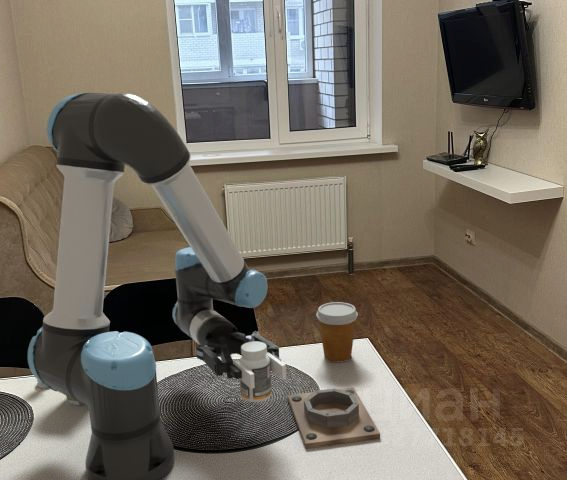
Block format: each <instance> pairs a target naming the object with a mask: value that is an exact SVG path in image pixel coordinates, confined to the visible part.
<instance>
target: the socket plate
mask: <svg viewBox="0 0 567 480" xmlns="http://www.w3.org/2000/svg"><path fill="white" fill-rule="evenodd" d="M287 400H288V403H289V406H290V408H291V411H292V415H293V418H294V419H295V424H296V426H297V428H298V430H299V434H300V437H301V440H302V442H303V445H304V447H305V449H311V448H318V447H327V446H334V445H342V444H349V443H356V442H363V441H370V440H378V439H379V440H380V439H381V432H380V430H379V428H378V427H377V426H376V424H375V421H374V420H373V419H372V417H371V415H370V413H369V411H368V410H367V408H366V406H365V405H364V402H363V401H362V400H361V398H360V396H359V394H358V393H357V390H356V389H355V387H344V388H327V389H326V388H325V389H319V390H314V391H312V392H304V393H303V392H302V393H297V394H288V395H287Z"/></svg>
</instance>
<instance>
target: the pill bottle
mask: <svg viewBox="0 0 567 480" xmlns="http://www.w3.org/2000/svg"><path fill="white" fill-rule="evenodd" d="M266 353H267V346H266V344H265V343H263V342H258V341H253V342H247V343H245V344H243V345H242V346H241V354H242V355H243V356H241V357H239V360H238V361H239V362H241V363H242V364H243V365H244V366H245V367H247V368H248V369H249V370H250V371H252V372H253V373H254V383H255V388H253V389H250V388H249V387H248V386H247V385H246V384H245V383H243V382H242V381H241V380H240V379H239V382H240V384H239V385H240V397H241V399H243V400H244V401H247V402H250V403H261V402H264V401H267V400H268V399H269V398H270V397H271V396H272V377H271V376H272V375H271V374H272V371H271V370H270V359H269V357H268V356H267V355H266Z"/></svg>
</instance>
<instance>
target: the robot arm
mask: <svg viewBox="0 0 567 480" xmlns="http://www.w3.org/2000/svg"><path fill="white" fill-rule="evenodd" d="M46 133H47V140H48V141H49V143H50V144H51V146H52V148H53V150H54V151H56V168H57V169H58V171H60V172H61V174H62V175H63V177H64V180H63V182H64V183H63V192H62V203H61V204H62V205H61V214H60V225H59V226H60V227H59V237H58V247H57V259H56V261H57V262H56V269H55V270H56V272H55V282H54V284H55V285H54V295H53V305H52V310H51V311H50V312H49V313H47V314H46V315H45V316H44V317H43V318H42V319H43V320H42V326H41V327H40V328H39V329H38V330H37V332H36V335H34V336H32V338H31V340H30V342H29V346H28V349H27V364H28V367H29V370H30V371H31V373H32V375H33V377H35V378H36V381H37V380H39V381H40V382H41V383H43V384H44V385H46V386H47V387H48V388H47V389H50V390H51V391H54V392H58V393H60V394H62V395H65V396H66V395H67V396H69V397H71V398H73V399H75V400H77V401H79V402H81V403H83V404H84V406H87V408H88V416H89V420H90V428H91V435H90V439H89V443H88V449H87V453H86V457H85V464H84V465H85V472H86V477H87V480H163V478H165V477H166V476H167V475H168V474H169V473H170V472H171V470H172V469H173V466H174V463H175V451H174V445H173V442H172V440H171V439H170V437H169V434H168V433H167V431H166V428H165V426H164V424H163V423H162V420H161V413H160V402H159V401H160V400H159V392H158V391H159V390H158V389H159V388H158V379H157V378H158V377H157V362H156V360H155V354H154V350H153V347H152V345H151V343H150V342H149V341H148V340H147V339H146V338H144V337H143V336H141V335H139V334H137V333H135V332H130V331H123V332H119V331H117V330H115V331H110V323H111V320H109V318H108V317H107V316H106V315H105V313H104V312H103V311H104V310H103V309H104V298H105V287H106V278H107V267H108V266H107V265H108V255H109V243H110V232H111V223H112V212H113V202H114V191H115V190H114V189H115V183H116V181H117V180H118V179H120V178H121V177H122V176H123V175H124V174H125V167H126V166H128V167H129V168H130V169H132V170H133V172H135V173H136V175H137V176H138V178H139V180H140V181H141V182H142V184H145V185H148V186H149V185H150V186H151V187H152V189H153V190H154V191H155V194H156V195H157V197H158V198H159V199H160V201H161V203H162V204H163V206H164V207H165V209H166V211H167V212H168V214H169V215H170V217H171V219H172V220H173V222H174V223H175V225H176V226H177V228H178V230H179V231H180V232H181V234H182V235H183V237H184V239H185V240H186V242H187V243H188V245H189V246H188V247H185V248H181V249H179V250H177V252H176V253H175V256H174V257H175V259H174V261H175V262H174V264H175V265H174V266H175V268H174V272H175V283H176V292H177V293H176V294H177V301H176V303H175V304H174V307H173V308H172V319H173V321H174V323H175V325H177V326H178V329H180V331H181V332H183V333H184V334H185V335H187V336H188V337H190V338H191V339H192V340H193V341H194V342H195V343H197V345H196V346H195V347H196V359H199V360H201V361H202V362H204V364H206V366H208V367H209V369H210V370H211V371H212V372H213V373H214V374H215V375H216V376H218V377H220V376H223V375H224V373H226V377H227V379H233V378H234V379H235V380H239V381H240V380H241V381H242V382H243V383H245V384H246V385H247V386H248V387H249V388H250V389H253V388H255V383H254V373H253V372H252V371H250V370H249V369H248V368H247V367H245V366H244V365H243V364H242V363H241V362H239V360H238V359H237V360H233V357H232V355H235V354H236V355H239V356H241V357H242V356H243V355H242V354H241V346H242V345H243V344H245V343H247V342H253V341H258V342H263V343H265V344H266V346H267V353H266V355H267V356H268V357H269V359H270V372H271V373H273V374H274V375H275V376H277V377H278V378H279V379H281V380H282V381H283V380H287V366H286V363H284V362H283V361H282V358H280V347H279V346H278V345H276V343H275V344H274V343H273V342H271V341H270V340H268V339H267V338H265V337H263V336H262V335H261V334H260V333H259V331H258V330H257V331H256V330H255V331H253V332H252V334H251V335H246V334H245V333H242V332H239V330H238V328H237V327H236V326H235V325H234V324H233V323H232V322H231V321H229V320H228V319H227V318H225V317H224V316H222V315H221V314H220V313H218V312H217V311H216V310H214V306H213V305H214V304H213V300H217V301H221V302H224V303H229V304H231V305H233V306H234V305H235V306H237V307H240V308H241V307H244V308H247V309H248V308H249V309H253V308H257V307H258V306H260V305H261V304H262V302H263V301H264V300H265V298H266V296H267V292H268V287H269V286H268V279H267V277H266V276H265V274H263V273H262V272H261V271H257V270H256V269H251V268H249V266H248V265H247V262H246V261H245V260H244V258H243V256H242V254H241V252H240V251H239V249H238V247H237V245H236V244H235V242H234V240H233V238H232V236H231V235H230V233H229V231H228V229H227V227H226V226H225V224H224V223H223V222H224V221H222V219H221V216H220V215H219V213H218V212H217V210H216V209H215V207H214V205H213V203H212V202H211V200H210V198H209V195H207V192H206V191H205V189H204V187H203V186H202V184H201V182H200V180H199V179H198V177H197V176H196V173H195V172H194V169H193V168H192V166H191V164H190V161H191V153H190V151H189V149H188V148H187V145H186V144H185V143H184V141H183V139H182V137H181V136H180V134H179V133H178V131H177V130H176V129H175V127H174V126H173V125H172V124H171V122H170V121H169V120H168V118H166V117H165V115H164V114H163V113H162V112H161V111H160V110H159V109H158V108H157V107H155V105H153V104H152V103H151V102H149V101H147V100H146V99H145V98H142V97H141V96H138V95H135V94H132V93H127V92H118V93H111V92H110V93H109V92H108V93H107V92H106V93H105V92H103V93H102V92H86V91H85V92H82V93H75V94H70V95H68V96H66V97H64V98H62V99H61V100H60V101H59V102H57V103H56V104H55V106H54V107H52V110H51V111H50V113H49V116H48V120H47V124H46Z"/></svg>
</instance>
